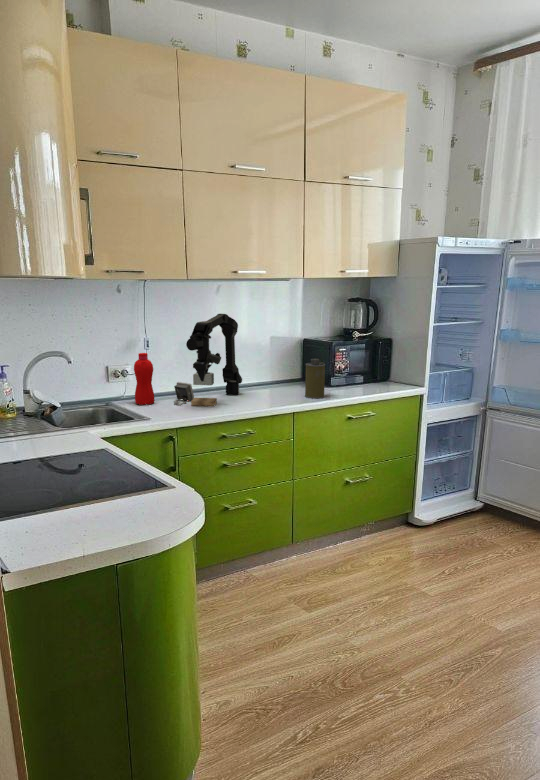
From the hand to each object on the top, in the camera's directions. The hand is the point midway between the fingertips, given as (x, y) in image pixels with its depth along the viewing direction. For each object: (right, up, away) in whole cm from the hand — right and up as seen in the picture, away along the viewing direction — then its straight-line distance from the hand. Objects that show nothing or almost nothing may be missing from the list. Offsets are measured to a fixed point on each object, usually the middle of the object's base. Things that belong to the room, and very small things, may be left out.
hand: (203, 380), depth 268 cm
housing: (0, -2, 0) cm, 2 cm away
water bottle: (-30, -11, +5) cm, 32 cm away
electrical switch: (-11, -10, +12) cm, 19 cm away
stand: (0, -12, +2) cm, 12 cm away
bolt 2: (-11, -12, +3) cm, 16 cm away
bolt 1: (-12, -12, 0) cm, 17 cm away
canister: (+56, -8, +23) cm, 61 cm away
